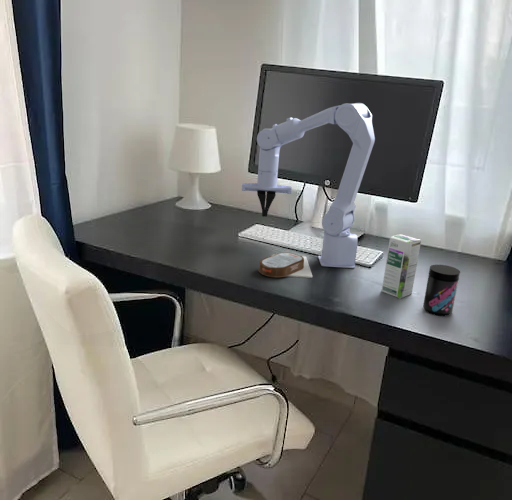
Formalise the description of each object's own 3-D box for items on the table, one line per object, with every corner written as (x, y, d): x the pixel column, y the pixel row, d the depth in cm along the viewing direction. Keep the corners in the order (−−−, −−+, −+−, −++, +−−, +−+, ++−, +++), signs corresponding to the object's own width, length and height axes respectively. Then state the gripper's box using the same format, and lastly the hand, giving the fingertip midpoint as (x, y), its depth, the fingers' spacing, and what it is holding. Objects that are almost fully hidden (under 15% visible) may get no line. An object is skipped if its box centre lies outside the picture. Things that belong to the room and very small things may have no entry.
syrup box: (380, 291, 139) (388, 236, 135) (393, 286, 143) (401, 232, 139) (400, 299, 136) (409, 242, 131) (412, 293, 140) (422, 238, 135)
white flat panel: (306, 257, 161) (306, 256, 160) (312, 277, 145) (312, 276, 145) (271, 255, 160) (271, 254, 160) (274, 275, 145) (274, 274, 145)
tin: (252, 271, 146) (278, 282, 141) (253, 260, 145) (279, 270, 140) (284, 258, 157) (309, 268, 153) (285, 248, 156) (310, 257, 152)
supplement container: (419, 312, 129) (427, 270, 125) (424, 302, 135) (432, 262, 131) (449, 319, 126) (458, 277, 123) (453, 309, 132) (462, 268, 129)
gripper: (291, 169, 165) (287, 213, 170) (243, 166, 165) (240, 210, 169) (293, 174, 159) (289, 219, 163) (243, 170, 158) (240, 216, 162)
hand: (264, 215), depth 166 cm, fingers closed
